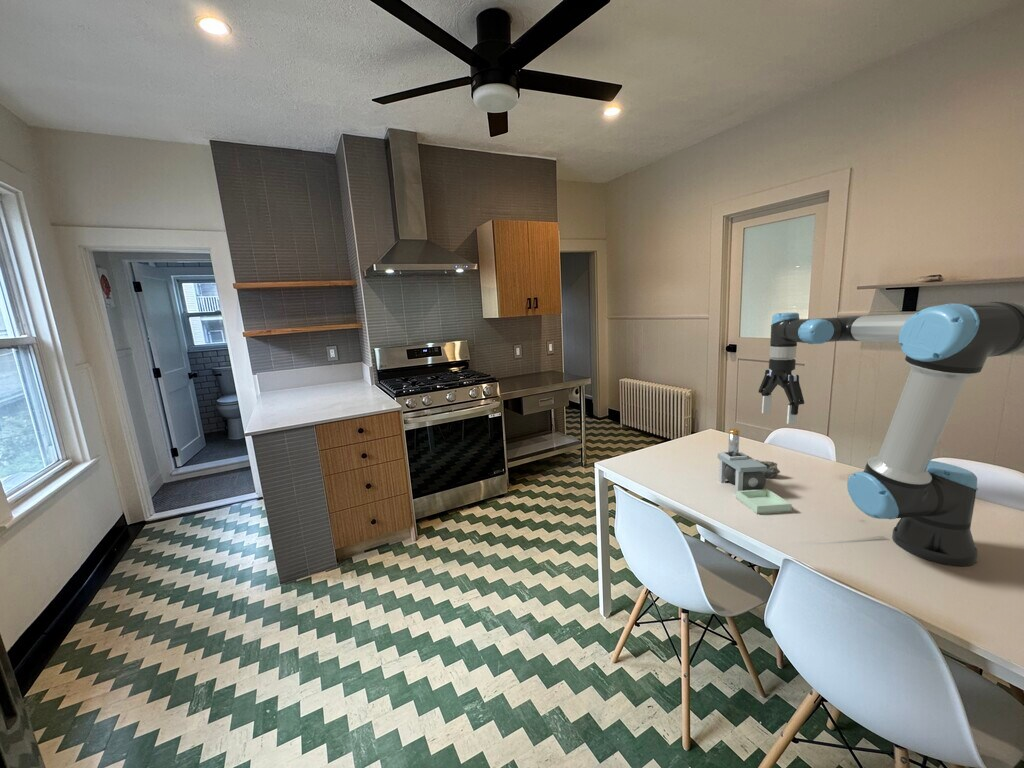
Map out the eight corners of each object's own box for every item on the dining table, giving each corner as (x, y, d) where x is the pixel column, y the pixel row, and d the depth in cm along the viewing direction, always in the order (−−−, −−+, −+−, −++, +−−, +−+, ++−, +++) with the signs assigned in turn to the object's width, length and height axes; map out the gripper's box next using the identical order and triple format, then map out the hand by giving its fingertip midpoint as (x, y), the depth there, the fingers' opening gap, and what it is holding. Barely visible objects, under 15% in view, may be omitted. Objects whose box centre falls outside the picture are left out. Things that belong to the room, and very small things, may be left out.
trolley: (768, 495, 132) (770, 463, 130) (739, 497, 131) (740, 465, 130) (742, 478, 145) (744, 449, 144) (716, 480, 145) (717, 451, 143)
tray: (791, 512, 120) (791, 504, 120) (756, 514, 120) (757, 506, 120) (767, 496, 131) (768, 489, 131) (736, 498, 131) (736, 491, 130)
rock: (745, 456, 146) (744, 463, 154) (744, 471, 144) (744, 478, 152) (781, 460, 140) (778, 467, 148) (781, 476, 138) (778, 483, 146)
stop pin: (740, 458, 138) (741, 431, 136) (731, 458, 138) (732, 431, 136) (735, 454, 141) (736, 428, 140) (725, 455, 141) (726, 429, 140)
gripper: (821, 362, 120) (815, 427, 124) (770, 354, 145) (766, 409, 148) (797, 363, 120) (792, 428, 124) (749, 355, 145) (746, 409, 149)
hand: (778, 418), depth 136 cm, fingers open, 13 cm apart
